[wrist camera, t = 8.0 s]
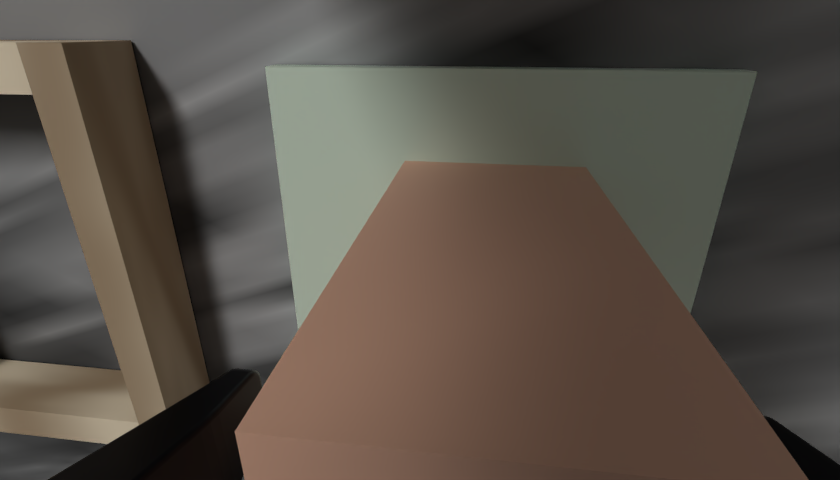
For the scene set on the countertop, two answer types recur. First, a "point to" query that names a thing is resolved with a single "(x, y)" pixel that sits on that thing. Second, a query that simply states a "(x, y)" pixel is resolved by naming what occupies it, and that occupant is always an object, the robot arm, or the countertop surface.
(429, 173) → the part block
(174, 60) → the countertop surface
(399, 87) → the pad
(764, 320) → the countertop surface
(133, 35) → the countertop surface
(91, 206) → the wooden frame
